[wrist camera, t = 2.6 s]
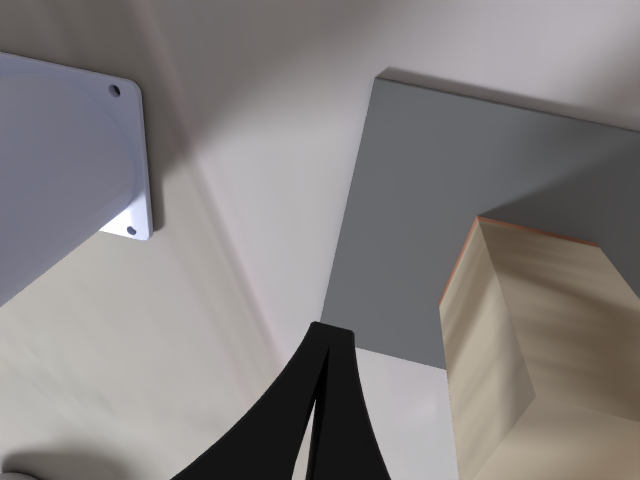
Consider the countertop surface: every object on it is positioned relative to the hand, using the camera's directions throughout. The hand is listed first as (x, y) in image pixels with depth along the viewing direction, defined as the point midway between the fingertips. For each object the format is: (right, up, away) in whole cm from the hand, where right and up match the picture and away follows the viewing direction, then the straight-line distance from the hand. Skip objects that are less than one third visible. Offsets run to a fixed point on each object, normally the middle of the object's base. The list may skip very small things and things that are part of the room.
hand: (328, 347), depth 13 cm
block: (+8, +2, +5) cm, 10 cm away
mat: (+10, +2, +5) cm, 12 cm away
